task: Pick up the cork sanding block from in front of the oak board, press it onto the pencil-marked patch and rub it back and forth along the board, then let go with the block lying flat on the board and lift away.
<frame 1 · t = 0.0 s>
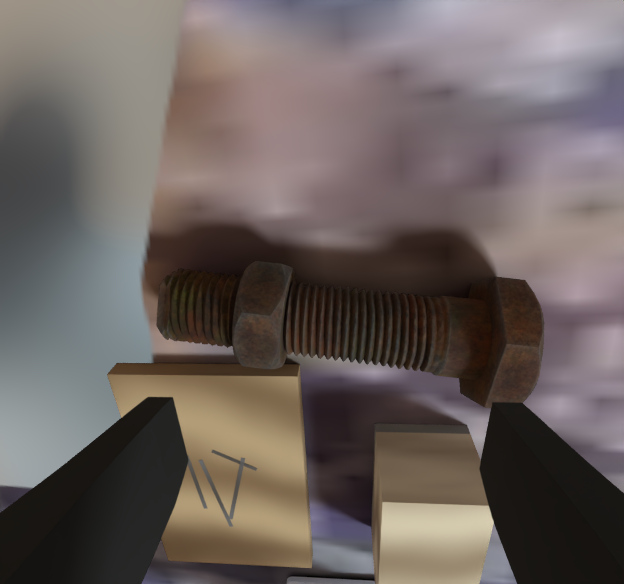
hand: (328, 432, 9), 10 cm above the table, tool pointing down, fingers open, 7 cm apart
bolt: (337, 294, 19), on the table
board: (226, 469, 25), on the table
sanding block: (414, 478, 24), on the table
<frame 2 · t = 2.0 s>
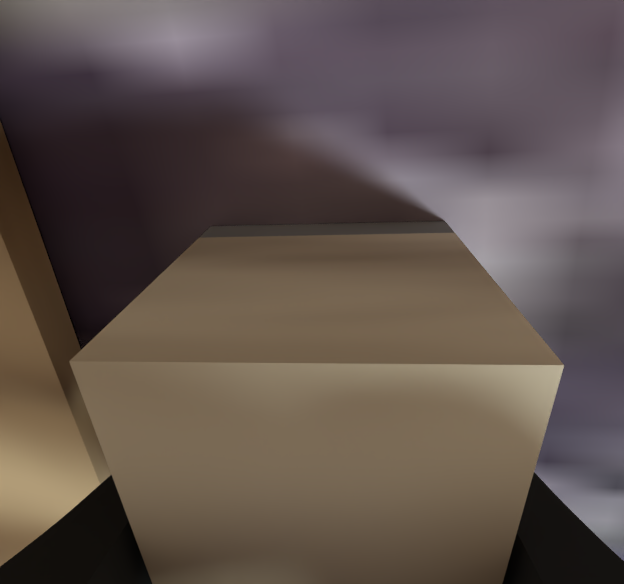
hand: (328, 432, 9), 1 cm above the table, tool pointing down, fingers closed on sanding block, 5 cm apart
sanding block: (330, 390, 10), on the table, touching gripper
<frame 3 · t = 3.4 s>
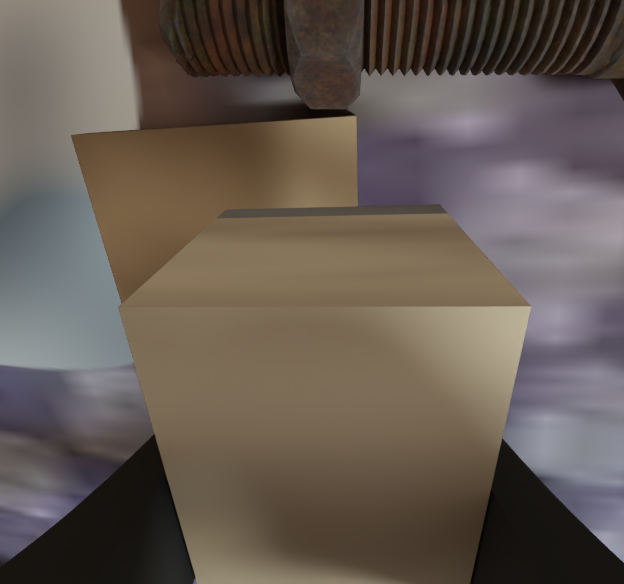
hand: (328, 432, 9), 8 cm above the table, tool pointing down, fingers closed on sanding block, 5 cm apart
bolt: (425, 19, 13), on the table
board: (246, 317, 18), on the table
sanding block: (333, 365, 11), point 6 cm above the table, touching gripper
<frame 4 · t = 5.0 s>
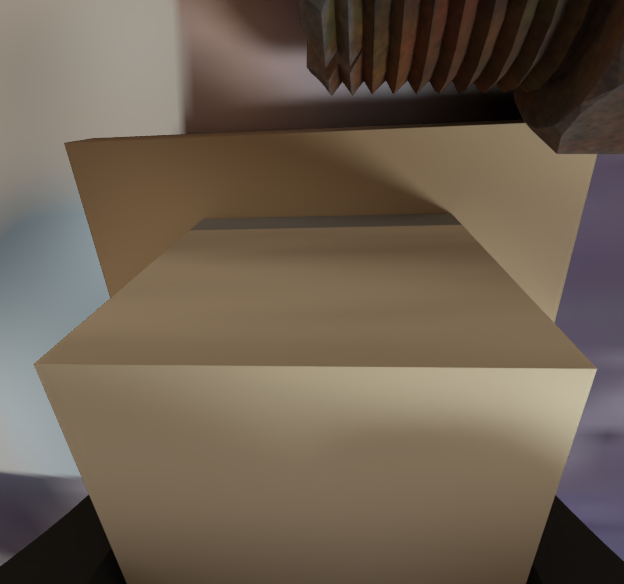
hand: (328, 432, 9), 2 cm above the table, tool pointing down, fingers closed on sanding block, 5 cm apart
board: (331, 420, 12), on the table
sanding block: (329, 392, 10), point 1 cm above the table, touching gripper
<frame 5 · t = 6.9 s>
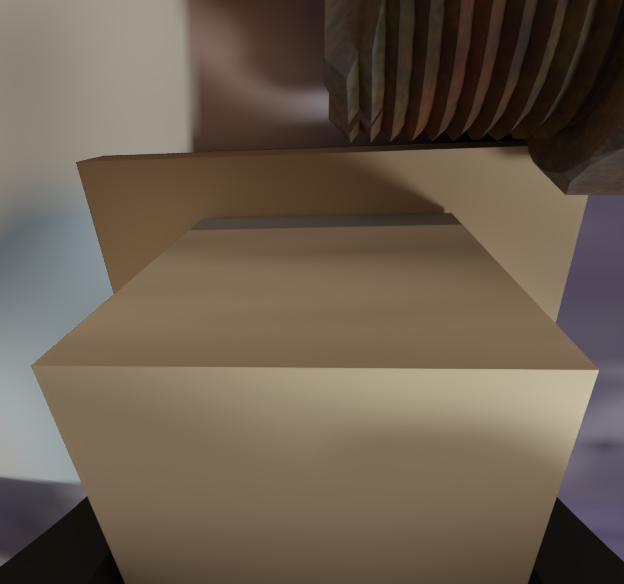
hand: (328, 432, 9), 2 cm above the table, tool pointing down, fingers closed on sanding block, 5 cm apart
board: (333, 429, 12), on the table
sanding block: (329, 392, 10), point 1 cm above the table, touching gripper
when the fingers open (2 cm above the table, at t = 8.0 s): sanding block stays where it is, resting on board.
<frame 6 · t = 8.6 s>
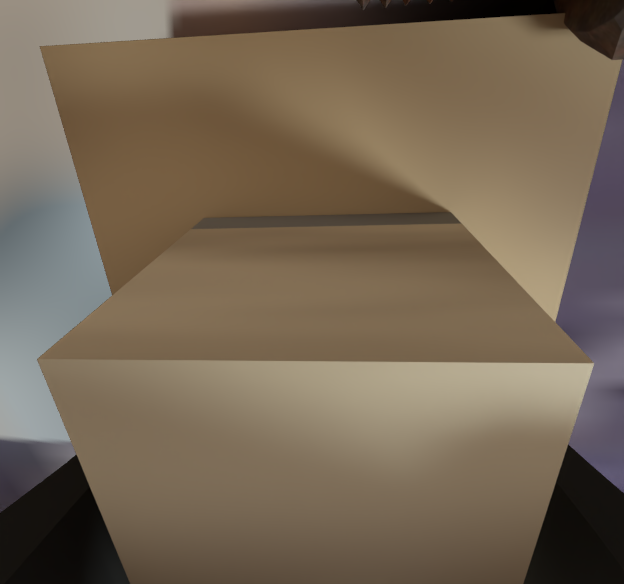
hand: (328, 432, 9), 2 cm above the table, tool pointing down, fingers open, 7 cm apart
board: (331, 376, 11), on the table
sanding block: (329, 391, 10), point 1 cm above the table, touching board
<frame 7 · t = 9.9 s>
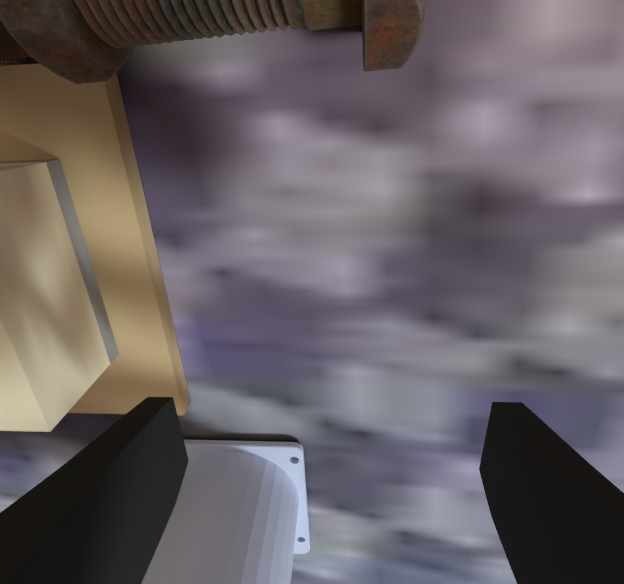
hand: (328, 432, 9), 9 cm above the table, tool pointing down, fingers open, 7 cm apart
board: (56, 266, 18), on the table
sanding block: (38, 268, 17), point 1 cm above the table, touching board
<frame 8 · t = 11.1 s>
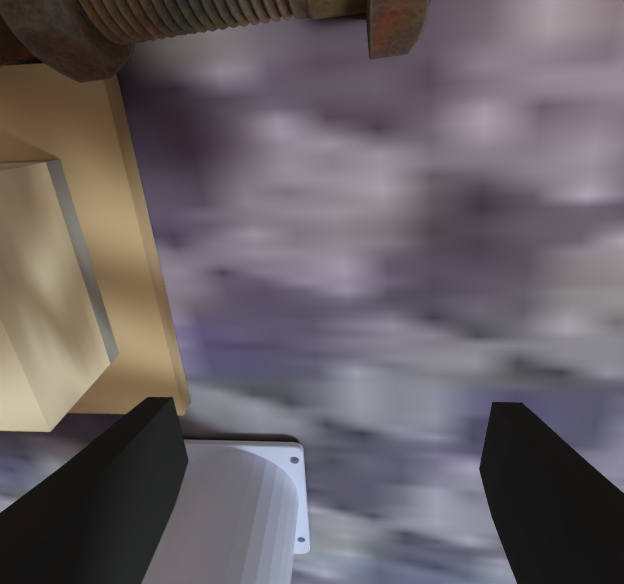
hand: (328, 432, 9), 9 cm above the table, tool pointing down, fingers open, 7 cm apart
board: (56, 266, 18), on the table
sanding block: (38, 268, 17), point 1 cm above the table, touching board
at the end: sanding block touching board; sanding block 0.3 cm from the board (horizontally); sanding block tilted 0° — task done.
